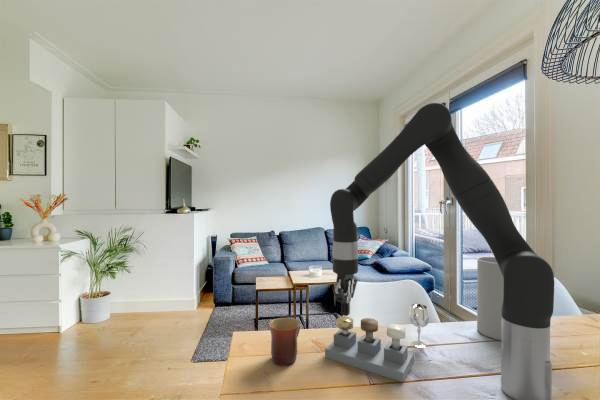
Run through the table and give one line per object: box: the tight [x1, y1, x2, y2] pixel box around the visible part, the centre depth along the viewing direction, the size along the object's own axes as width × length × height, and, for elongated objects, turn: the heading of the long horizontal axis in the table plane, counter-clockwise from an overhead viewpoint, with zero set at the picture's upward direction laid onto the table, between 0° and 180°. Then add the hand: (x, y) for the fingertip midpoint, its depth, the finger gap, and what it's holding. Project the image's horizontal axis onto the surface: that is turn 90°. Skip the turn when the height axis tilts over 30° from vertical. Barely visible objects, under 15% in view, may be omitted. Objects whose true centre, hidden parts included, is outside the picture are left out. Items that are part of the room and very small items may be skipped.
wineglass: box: [408, 303, 430, 349], centre depth 96 cm, size 6×6×12 cm
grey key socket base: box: [324, 329, 415, 383], centre depth 87 cm, size 22×12×5 cm, turn 57°
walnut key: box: [360, 317, 379, 344], centre depth 87 cm, size 5×5×6 cm
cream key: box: [386, 323, 406, 351], centre depth 83 cm, size 5×5×6 cm
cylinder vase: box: [476, 256, 504, 341], centre depth 104 cm, size 12×12×25 cm
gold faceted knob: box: [336, 316, 354, 337], centre depth 91 cm, size 5×5×6 cm
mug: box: [268, 317, 301, 366], centre depth 88 cm, size 12×9×10 cm
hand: (345, 314), depth 91 cm, fingers closed
